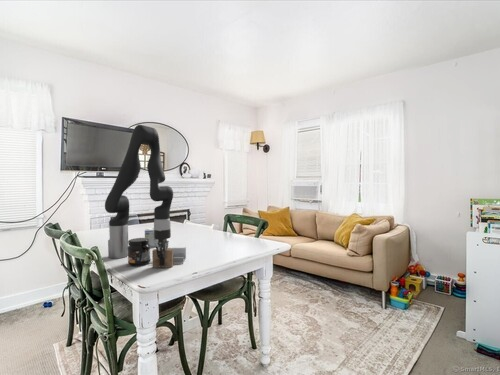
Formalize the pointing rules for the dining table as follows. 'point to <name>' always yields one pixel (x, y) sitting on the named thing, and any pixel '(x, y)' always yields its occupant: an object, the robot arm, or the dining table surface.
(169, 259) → the brown rectangular block
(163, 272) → the dining table surface
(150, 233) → the light bulb box
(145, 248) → the supplement container
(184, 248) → the grey channel holder
